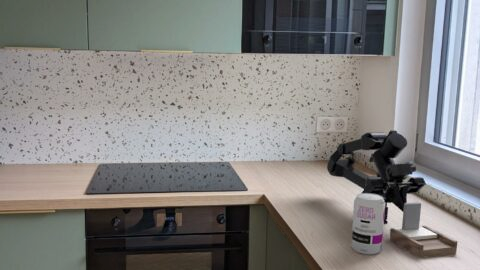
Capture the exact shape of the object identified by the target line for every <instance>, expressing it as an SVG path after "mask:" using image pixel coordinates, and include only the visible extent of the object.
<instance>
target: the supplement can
mask: <svg viewBox="0 0 480 270" xmlns="http://www.w3.org/2000/svg"><path fill="white" fill-rule="evenodd" d="M352 212H353V213H352V224H351V225H352V226H351V238H350V239H351V240H350V247H351V248H352V249H353V251H355V252H356V253H358V254H363V255H368V256H369V255H377V254H379V253H380V252H381V251H382V249H383V238H384V237H383V236H384V227H385V225H384V224H385V223H384V215H385V201H384V199H383V197H382V196H380V195H377V194H371V193H362V192H361V193H358V194H357V195H356V196H355V198H354V201H353V210H352Z"/></svg>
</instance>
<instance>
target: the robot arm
mask: <svg viewBox="0 0 480 270" xmlns="http://www.w3.org/2000/svg"><path fill="white" fill-rule="evenodd" d="M407 146H408V140H407V138H406V137H404V136H403V135H402V134H400V133H398V131H397V130H395V129H394V130H390V131H389V132H388V134H386V133H385V132H382V131H381V132H380V131H379V132H377V131H376V132H375V131H374V132H365V133H363V134H362V135H361V136H360V138H359V139H354V140H351V141H347V142H342V143H339V144H338V146H337V148H336V150H335V151H334V152H333V153H332V155H330V157H329V159H328V163H327V167H326V170H327V172H328V174H329V175H330V176H333V177H337V178H343V179H346V180H348V181H349V182H350V183H353V184H355V185H356V186H358V187H359V188H362V189H363V190H362V192H361V193H371V194H377V195H380V196H382V197H383V199H384V201H385V215H384V224H388V223H389V221H388V215H389V214H388V213H389V207H388V204H391V203H392V204H393V205H394V206H395V207H397V208H398V210H400V211H401V212H402V213H403V210H404V203H408V201H407V199H408V198H407V196H408V194H409V195H410V194H417V193H419V191H420V190H422V189H423V188H424V186H425V185H427V183H426V180H425V179H424V177H421V176H417V177H416V176H413V177H410V178H409V179H408V180H407V181H405V182H404V180H406V179H407V176H410V175H411V176H412V175H413V173H414V172H416V171H417V167H416V164H415V161H408V162H405V163H396V162H395V160H394V159H396V158H397V157H399V155H400V154H401V153H402V151H404V149H405V148H406V147H407ZM364 151H374V152H373V153H371V156H370V158H369V163H374V165H375V167H376V170H377V172H378V173H376V175H368V174H367V173H365V172H363V171H361V170H359V169H357V168H356V167H354V165H355V163H356V161H355V157H354V154H355V153H356V154H357V153H359V152H364ZM343 155H348V159H347V158H344V159H343V158H342V157H343Z"/></svg>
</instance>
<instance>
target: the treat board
mask: <svg viewBox="0 0 480 270" xmlns="http://www.w3.org/2000/svg"><path fill="white" fill-rule="evenodd" d="M421 227H423V228H425V229H427V230H429V231H431V232H433V233H435V234H437V238H431V239H420V240H414V239H412V238H410V237H409V236H407V235H405V234H403V233H401V232H399V231H398V230H396V229H395V228H394V227H393V228H392V227H391V228H390V230H389V231H390V232H389V241H390V242H392V243H394V244H395V245H397V246H399V247H401V248H402V249H403V250H405V251H407V252H409V253H410V254H413V255H415V256H416V257H417V258H419V259H420V258H430V257H438V256H447V255H456V254H457V251H458V250H457V249H458V241H457V240H456V239H454V238H451V237H449V236H448V235H446V234H443V233H441V232H439V231H437V230H435V229H433V228H431V227H430V226H427V225H422V226H421Z"/></svg>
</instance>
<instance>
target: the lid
mask: <svg viewBox="0 0 480 270" xmlns="http://www.w3.org/2000/svg"><path fill="white" fill-rule="evenodd" d="M421 210H422V203H421V202H419V201H418V202H417V201H415V202H407V203H404V210H403V212H402V213H403V214H402V223H401V228H398V229H396V230H398V231H399V232H401V233H403V234H405V235H407V236H409V237H410V238H412V239H414V240H420V239H431V238H437V234H435V233H433V232H431V231H429V230H427V229H425V228H423V227H422V226H420V221H421Z"/></svg>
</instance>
